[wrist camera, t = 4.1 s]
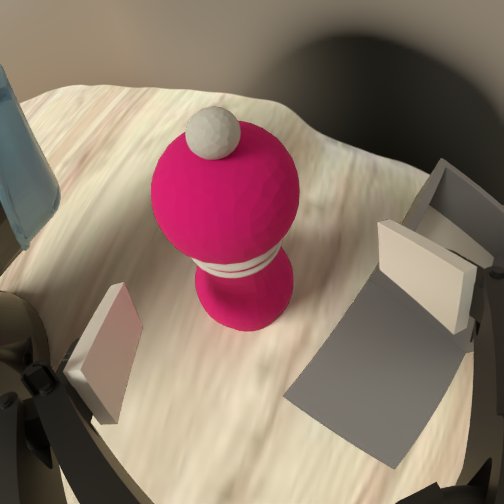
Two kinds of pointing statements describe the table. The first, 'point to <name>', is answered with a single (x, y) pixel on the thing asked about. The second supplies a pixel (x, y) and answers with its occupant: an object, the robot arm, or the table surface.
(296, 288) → the table surface
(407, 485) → the table surface
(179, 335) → the table surface
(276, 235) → the pepper mill
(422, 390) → the box
